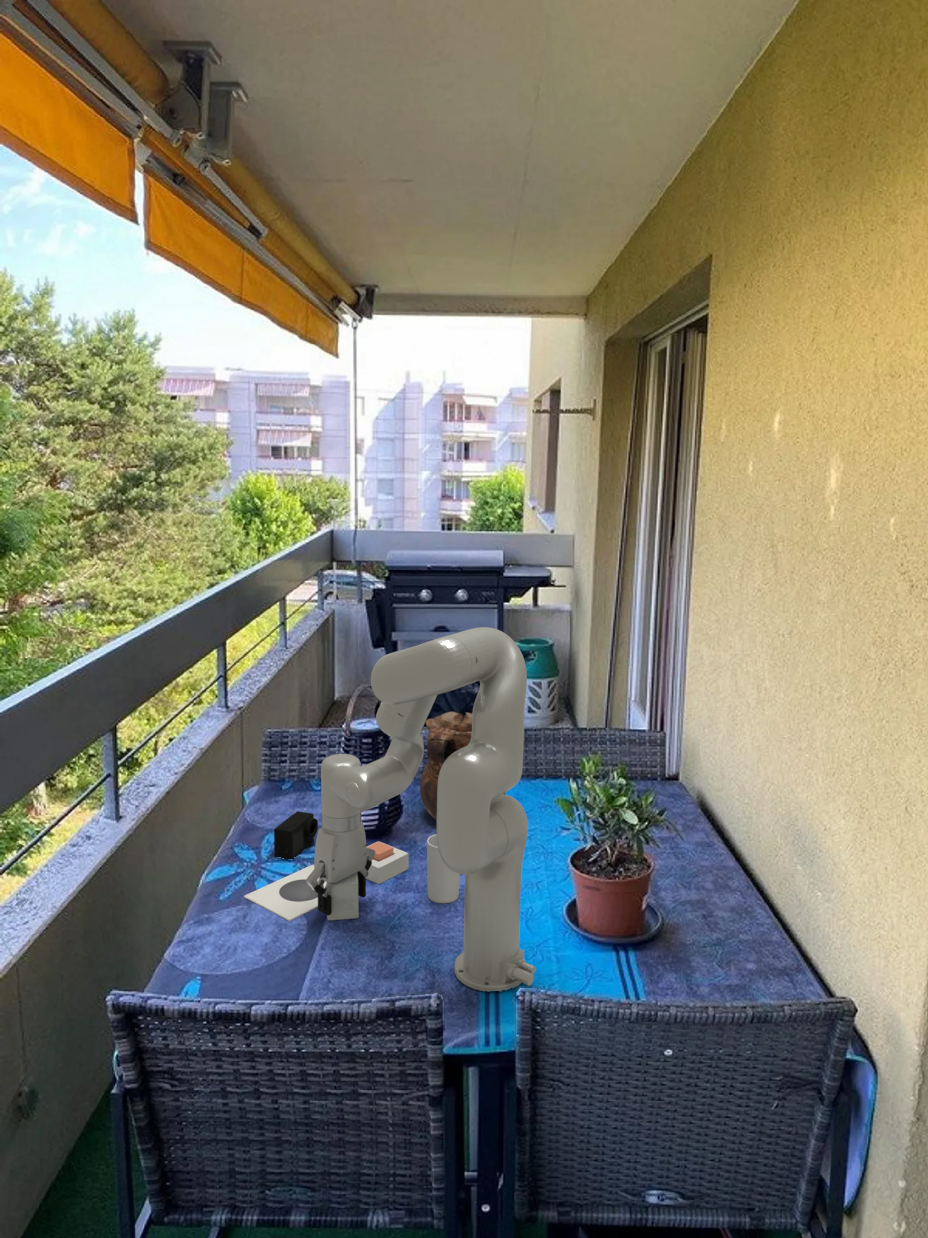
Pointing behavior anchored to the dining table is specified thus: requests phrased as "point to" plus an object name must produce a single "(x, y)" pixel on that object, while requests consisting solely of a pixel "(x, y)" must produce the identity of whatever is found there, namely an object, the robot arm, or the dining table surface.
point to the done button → (381, 851)
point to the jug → (442, 751)
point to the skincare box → (345, 898)
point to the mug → (440, 876)
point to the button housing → (388, 866)
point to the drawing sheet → (288, 895)
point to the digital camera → (294, 834)
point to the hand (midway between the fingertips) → (342, 903)
